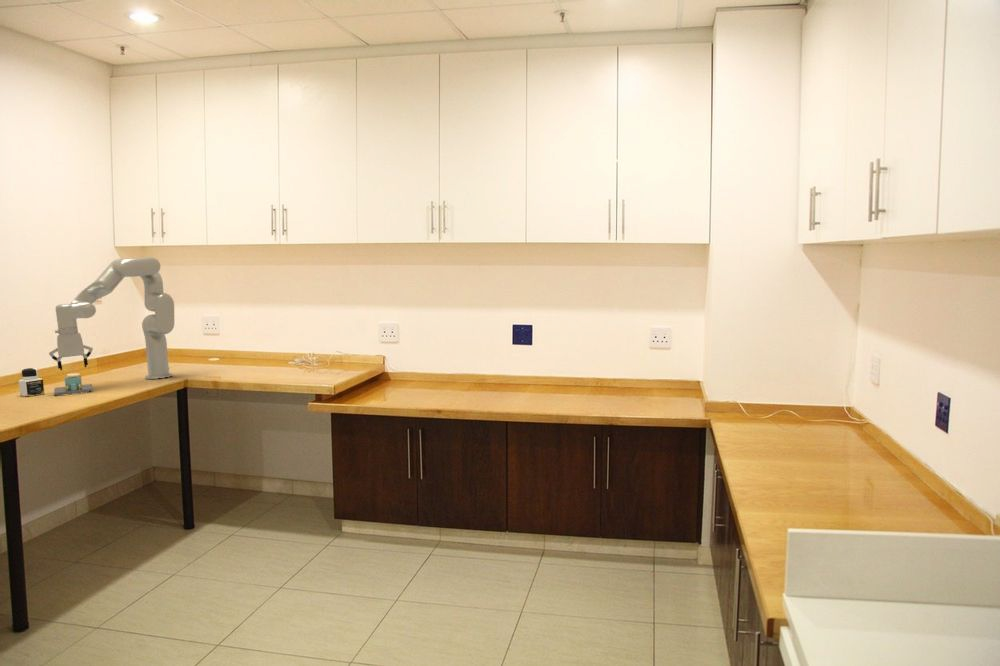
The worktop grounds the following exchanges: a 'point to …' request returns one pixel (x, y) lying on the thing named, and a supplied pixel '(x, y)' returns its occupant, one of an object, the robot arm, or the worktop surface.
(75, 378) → the teal hollow square block
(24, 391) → the medicine bottle
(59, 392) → the post base
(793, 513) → the worktop surface
